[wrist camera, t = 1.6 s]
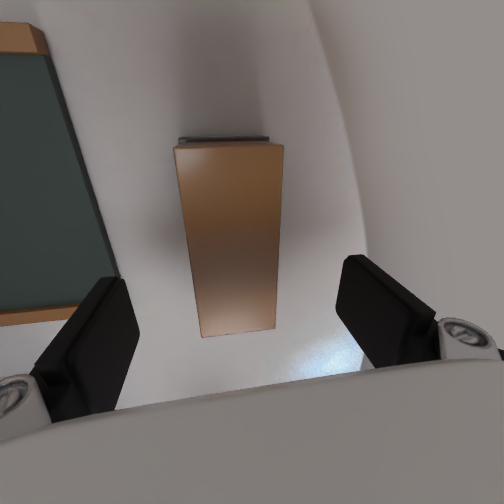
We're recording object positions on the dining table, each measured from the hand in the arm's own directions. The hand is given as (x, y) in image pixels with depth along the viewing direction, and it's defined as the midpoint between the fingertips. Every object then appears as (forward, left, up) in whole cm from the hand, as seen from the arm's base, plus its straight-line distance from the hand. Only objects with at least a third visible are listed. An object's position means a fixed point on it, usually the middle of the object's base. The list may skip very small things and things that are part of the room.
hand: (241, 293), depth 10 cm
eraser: (0, 0, -7) cm, 7 cm away
